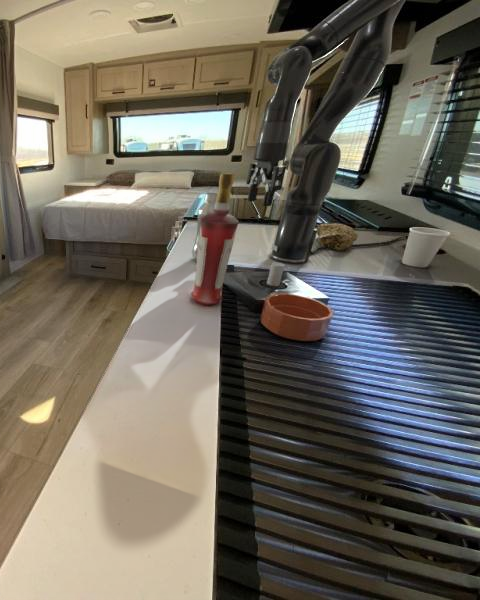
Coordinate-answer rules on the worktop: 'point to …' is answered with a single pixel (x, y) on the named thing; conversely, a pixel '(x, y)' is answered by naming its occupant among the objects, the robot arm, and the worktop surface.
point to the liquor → (215, 246)
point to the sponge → (336, 235)
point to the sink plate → (255, 293)
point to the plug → (274, 277)
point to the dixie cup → (423, 245)
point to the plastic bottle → (203, 211)
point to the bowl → (296, 317)
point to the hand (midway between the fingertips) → (258, 203)
